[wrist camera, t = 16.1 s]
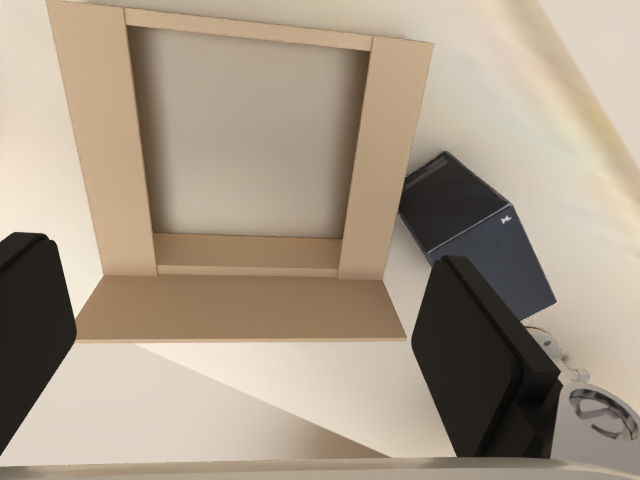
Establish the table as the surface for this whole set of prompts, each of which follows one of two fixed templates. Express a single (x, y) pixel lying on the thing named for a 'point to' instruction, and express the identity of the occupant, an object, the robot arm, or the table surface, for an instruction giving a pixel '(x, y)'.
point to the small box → (474, 231)
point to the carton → (226, 250)
